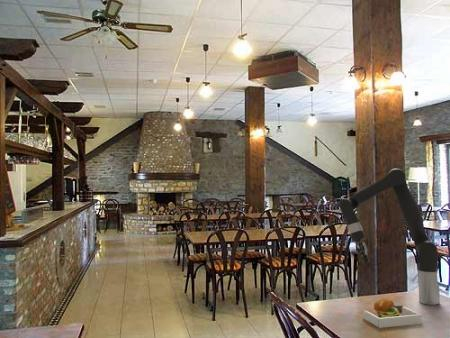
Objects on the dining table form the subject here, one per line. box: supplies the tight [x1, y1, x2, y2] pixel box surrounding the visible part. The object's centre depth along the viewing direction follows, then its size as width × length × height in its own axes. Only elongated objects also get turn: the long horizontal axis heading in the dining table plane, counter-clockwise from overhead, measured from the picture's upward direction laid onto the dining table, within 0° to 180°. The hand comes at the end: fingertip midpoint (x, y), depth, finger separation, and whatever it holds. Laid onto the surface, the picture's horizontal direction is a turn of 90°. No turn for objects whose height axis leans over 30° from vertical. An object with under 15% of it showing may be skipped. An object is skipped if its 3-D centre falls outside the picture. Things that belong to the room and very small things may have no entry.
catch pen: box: [363, 306, 423, 329], centre depth 182 cm, size 22×12×4 cm, turn 102°
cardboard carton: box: [393, 301, 404, 313], centre depth 198 cm, size 4×7×3 cm, turn 12°
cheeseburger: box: [373, 297, 401, 318], centre depth 187 cm, size 10×11×10 cm
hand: (367, 262), depth 211 cm, fingers closed
